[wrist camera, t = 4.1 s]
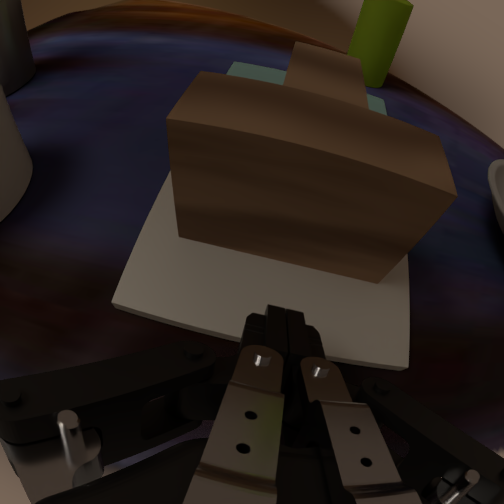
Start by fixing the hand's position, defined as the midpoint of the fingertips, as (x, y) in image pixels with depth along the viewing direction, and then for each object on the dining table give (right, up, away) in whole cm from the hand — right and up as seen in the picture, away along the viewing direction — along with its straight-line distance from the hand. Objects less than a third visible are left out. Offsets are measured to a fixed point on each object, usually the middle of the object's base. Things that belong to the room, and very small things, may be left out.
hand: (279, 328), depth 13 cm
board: (+3, +10, +13) cm, 16 cm away
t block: (+2, +7, +10) cm, 12 cm away
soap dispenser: (+14, +27, +24) cm, 39 cm away
